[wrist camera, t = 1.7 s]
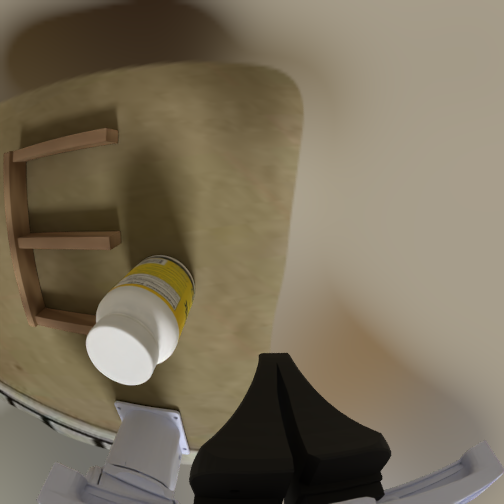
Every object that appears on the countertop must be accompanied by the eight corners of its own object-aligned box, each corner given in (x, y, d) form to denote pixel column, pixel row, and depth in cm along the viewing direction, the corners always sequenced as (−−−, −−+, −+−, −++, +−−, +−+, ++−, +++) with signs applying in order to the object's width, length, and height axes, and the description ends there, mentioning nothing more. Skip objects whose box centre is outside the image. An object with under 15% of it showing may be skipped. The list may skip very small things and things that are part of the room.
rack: (134, 329, 23) (124, 344, 20) (42, 314, 22) (29, 325, 20) (118, 130, 18) (103, 126, 16) (20, 152, 18) (3, 153, 15)
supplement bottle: (173, 325, 23) (137, 407, 13) (123, 286, 22) (63, 351, 12) (210, 282, 21) (185, 361, 12) (156, 239, 20) (93, 290, 11)
